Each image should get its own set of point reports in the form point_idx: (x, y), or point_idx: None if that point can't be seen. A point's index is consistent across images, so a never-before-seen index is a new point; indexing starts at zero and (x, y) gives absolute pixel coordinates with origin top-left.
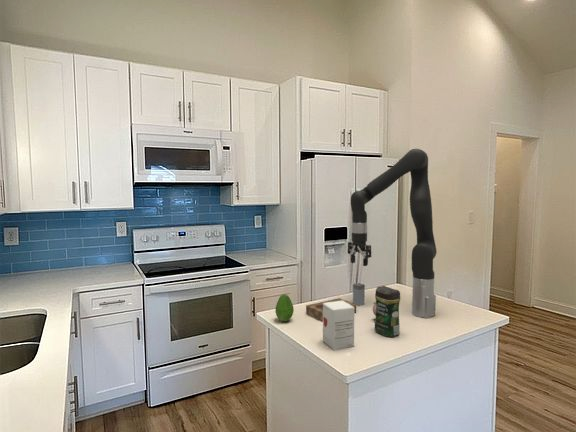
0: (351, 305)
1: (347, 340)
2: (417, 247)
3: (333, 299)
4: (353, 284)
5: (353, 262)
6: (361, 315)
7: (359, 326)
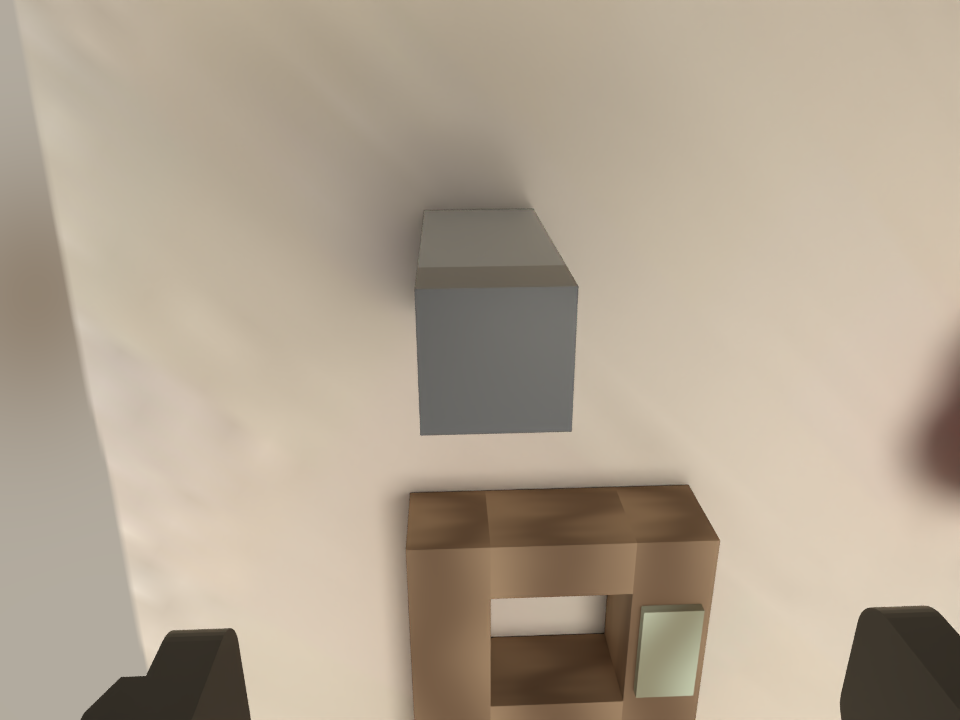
0: (704, 599)
1: None
2: None
3: (413, 630)
4: (432, 434)
5: (238, 698)
6: (769, 486)
7: None
